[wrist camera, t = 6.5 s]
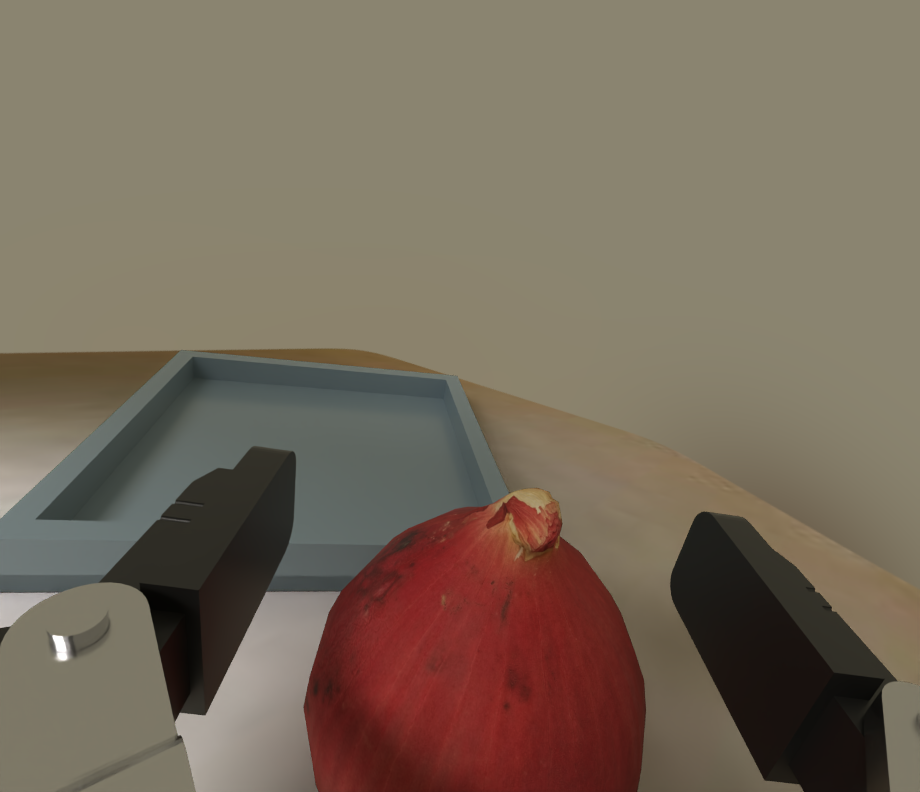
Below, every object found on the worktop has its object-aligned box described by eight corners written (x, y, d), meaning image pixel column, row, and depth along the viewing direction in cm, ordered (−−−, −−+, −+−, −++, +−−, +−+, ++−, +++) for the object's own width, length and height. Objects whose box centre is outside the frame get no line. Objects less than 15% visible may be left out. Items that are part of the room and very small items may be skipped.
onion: (227, 879, 9) (216, 509, 6) (396, 644, 14) (437, 381, 11) (537, 1134, 7) (764, 784, 4) (602, 755, 12) (723, 473, 9)
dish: (-7, 592, 13) (-22, 538, 13) (182, 381, 27) (181, 350, 26) (521, 590, 16) (533, 547, 16) (452, 403, 30) (457, 375, 29)
